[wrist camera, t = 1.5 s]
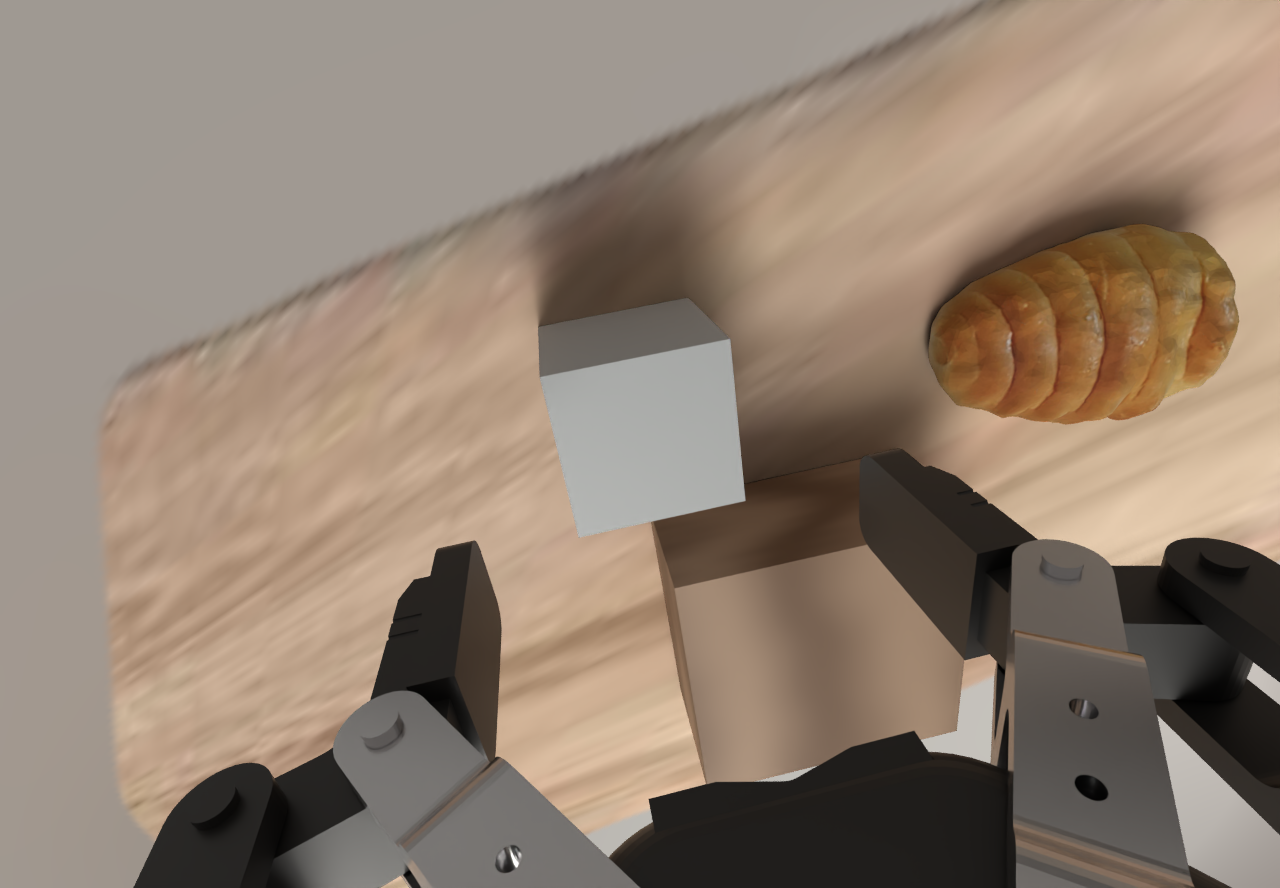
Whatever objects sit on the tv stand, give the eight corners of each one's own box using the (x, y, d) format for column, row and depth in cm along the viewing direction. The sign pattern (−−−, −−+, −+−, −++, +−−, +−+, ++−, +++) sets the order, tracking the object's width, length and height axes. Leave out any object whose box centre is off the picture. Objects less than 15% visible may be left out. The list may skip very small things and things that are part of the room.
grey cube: (687, 296, 21) (729, 339, 16) (704, 431, 23) (745, 500, 18) (538, 326, 20) (539, 376, 16) (569, 460, 23) (578, 537, 18)
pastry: (910, 429, 24) (971, 474, 21) (921, 252, 21) (994, 271, 18) (1132, 387, 25) (1226, 424, 22) (1172, 209, 22) (1288, 220, 19)
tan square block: (898, 450, 24) (979, 519, 20) (891, 640, 29) (956, 730, 24) (648, 505, 24) (674, 588, 19) (681, 690, 28) (708, 792, 24)
